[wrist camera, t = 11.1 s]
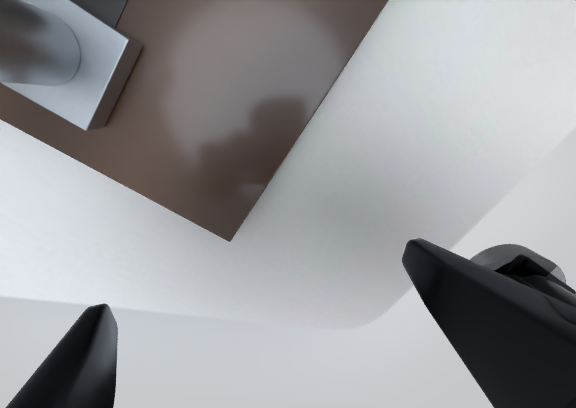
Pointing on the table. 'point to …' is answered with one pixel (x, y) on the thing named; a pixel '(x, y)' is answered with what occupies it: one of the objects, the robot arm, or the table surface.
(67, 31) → the tap
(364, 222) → the table surface
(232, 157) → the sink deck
